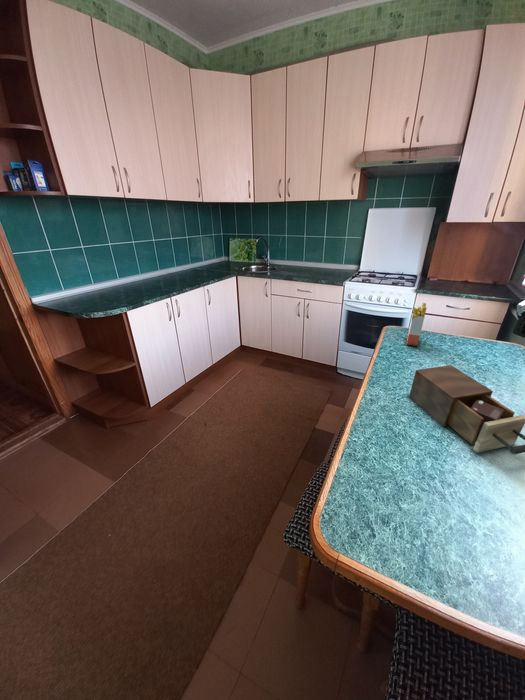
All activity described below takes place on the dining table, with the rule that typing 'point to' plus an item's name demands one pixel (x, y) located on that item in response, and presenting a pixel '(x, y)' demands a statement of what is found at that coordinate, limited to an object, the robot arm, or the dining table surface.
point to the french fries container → (416, 325)
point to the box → (487, 412)
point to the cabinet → (443, 390)
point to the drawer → (486, 425)
